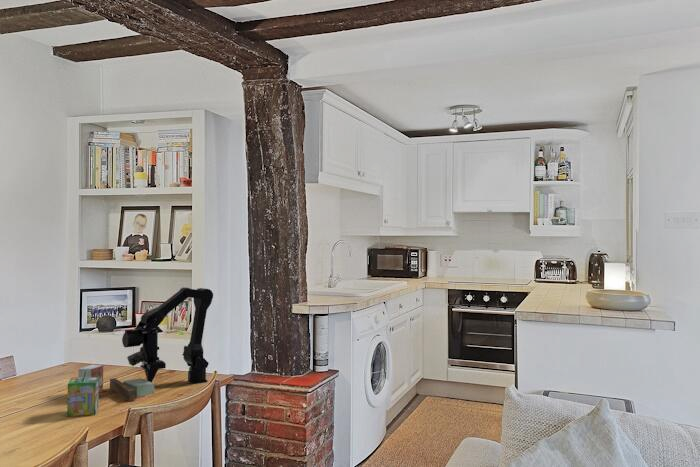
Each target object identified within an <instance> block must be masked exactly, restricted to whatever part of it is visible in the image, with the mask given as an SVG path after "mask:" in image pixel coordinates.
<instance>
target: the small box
mask: <svg viewBox="0 0 700 467" xmlns="http://www.w3.org/2000/svg"><path fill="white" fill-rule="evenodd" d="M87 369H88V370H87ZM86 370H87V374H86V377H98V376H99V393H98V394H100V393H102V392H104V365H102V364H90V365H87V366H84V367H80V368H78V377H84V374H85V371H86Z"/></svg>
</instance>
